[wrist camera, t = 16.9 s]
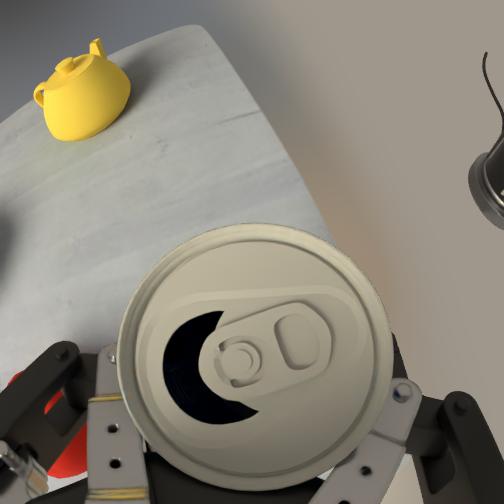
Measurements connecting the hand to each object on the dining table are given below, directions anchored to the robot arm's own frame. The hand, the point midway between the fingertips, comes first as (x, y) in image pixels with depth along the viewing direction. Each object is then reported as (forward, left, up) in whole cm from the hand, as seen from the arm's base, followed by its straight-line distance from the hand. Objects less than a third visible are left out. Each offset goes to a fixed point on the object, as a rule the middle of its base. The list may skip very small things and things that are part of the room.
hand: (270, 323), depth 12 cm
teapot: (-29, -42, -18) cm, 54 cm away
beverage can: (+2, 0, -6) cm, 6 cm away
